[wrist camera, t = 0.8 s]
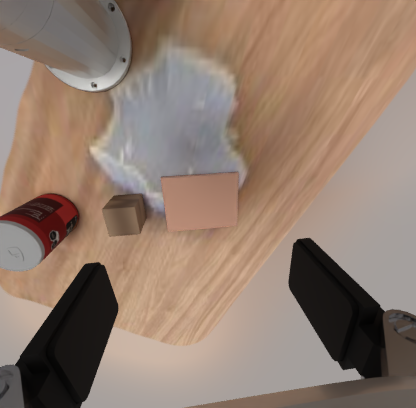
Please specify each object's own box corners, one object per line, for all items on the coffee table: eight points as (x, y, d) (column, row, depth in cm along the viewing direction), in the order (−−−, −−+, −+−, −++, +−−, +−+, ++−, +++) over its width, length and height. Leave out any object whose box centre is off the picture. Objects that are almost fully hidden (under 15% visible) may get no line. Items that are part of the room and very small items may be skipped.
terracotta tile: (168, 229, 40) (168, 231, 39) (161, 176, 36) (160, 178, 35) (236, 223, 42) (237, 225, 41) (237, 171, 37) (238, 173, 36)
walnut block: (120, 219, 38) (109, 236, 33) (114, 195, 36) (101, 209, 31) (146, 217, 39) (140, 233, 33) (141, 193, 37) (134, 207, 31)
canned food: (57, 237, 39) (12, 280, 29) (22, 205, 35) (-42, 240, 25) (89, 219, 38) (55, 256, 28) (57, 185, 35) (5, 212, 25)
